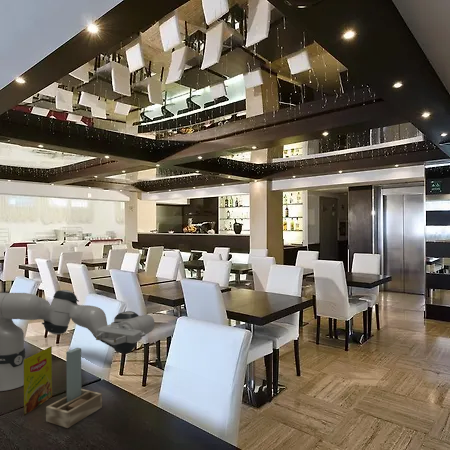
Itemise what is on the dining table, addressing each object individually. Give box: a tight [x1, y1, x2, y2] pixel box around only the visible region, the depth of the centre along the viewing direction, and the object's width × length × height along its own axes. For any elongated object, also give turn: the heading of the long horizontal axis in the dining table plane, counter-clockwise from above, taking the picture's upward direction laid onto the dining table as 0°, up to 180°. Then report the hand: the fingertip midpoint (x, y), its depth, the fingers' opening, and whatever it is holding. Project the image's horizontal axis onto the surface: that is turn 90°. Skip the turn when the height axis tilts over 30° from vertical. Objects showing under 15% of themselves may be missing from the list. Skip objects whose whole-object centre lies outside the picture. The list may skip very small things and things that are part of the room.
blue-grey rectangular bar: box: [65, 347, 82, 402], centre depth 139 cm, size 2×5×22 cm, turn 155°
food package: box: [23, 346, 53, 416], centre depth 143 cm, size 15×1×20 cm, turn 168°
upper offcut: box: [68, 399, 87, 411], centre depth 134 cm, size 3×6×2 cm, turn 157°
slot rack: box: [45, 388, 103, 429], centre depth 136 cm, size 10×16×5 cm, turn 155°
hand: (106, 339), depth 153 cm, fingers open, 8 cm apart
